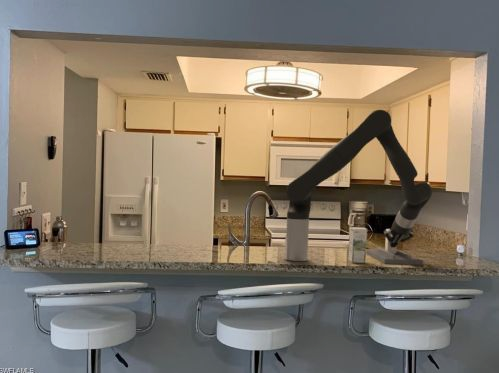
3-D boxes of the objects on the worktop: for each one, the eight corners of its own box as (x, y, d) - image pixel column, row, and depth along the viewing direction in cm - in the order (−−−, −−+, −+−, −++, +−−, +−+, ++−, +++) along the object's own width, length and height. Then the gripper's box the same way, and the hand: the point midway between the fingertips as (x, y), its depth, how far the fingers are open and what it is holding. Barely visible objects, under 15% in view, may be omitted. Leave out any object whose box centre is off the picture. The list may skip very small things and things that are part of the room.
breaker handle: (387, 253, 181) (387, 229, 181) (384, 252, 184) (385, 228, 184) (396, 253, 181) (397, 229, 181) (394, 252, 184) (394, 229, 184)
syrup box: (361, 261, 173) (362, 226, 173) (365, 263, 167) (367, 228, 167) (348, 260, 172) (349, 226, 172) (352, 263, 167) (353, 228, 166)
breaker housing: (384, 263, 168) (384, 255, 168) (366, 253, 192) (366, 246, 192) (422, 264, 168) (422, 256, 168) (399, 254, 192) (399, 247, 192)
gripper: (418, 214, 171) (405, 239, 183) (386, 213, 171) (375, 238, 183) (423, 228, 166) (409, 253, 178) (391, 227, 165) (379, 252, 178)
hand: (392, 245), depth 181 cm, fingers closed
